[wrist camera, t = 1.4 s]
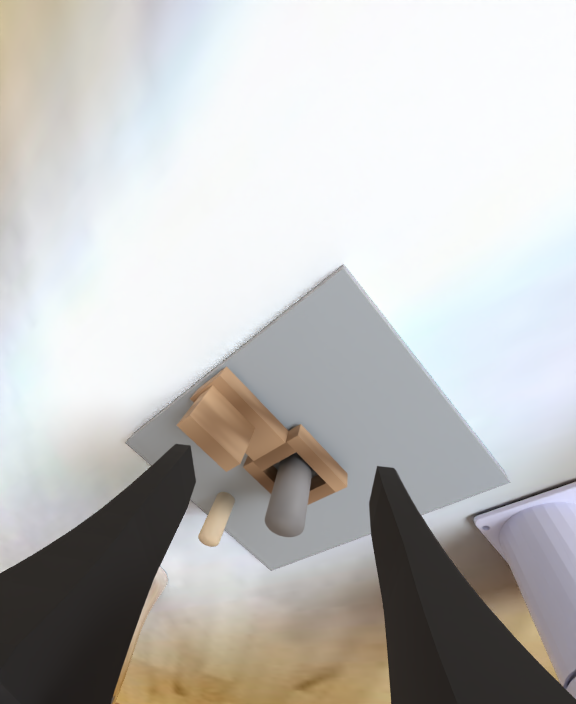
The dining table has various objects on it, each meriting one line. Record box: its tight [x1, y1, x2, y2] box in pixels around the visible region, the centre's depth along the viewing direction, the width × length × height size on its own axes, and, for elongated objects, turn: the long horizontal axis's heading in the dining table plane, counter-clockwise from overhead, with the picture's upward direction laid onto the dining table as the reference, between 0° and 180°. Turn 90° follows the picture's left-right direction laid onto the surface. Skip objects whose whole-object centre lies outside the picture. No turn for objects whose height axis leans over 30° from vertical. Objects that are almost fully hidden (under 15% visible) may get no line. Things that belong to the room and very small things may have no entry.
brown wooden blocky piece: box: [177, 366, 348, 505], centre depth 21 cm, size 11×5×4 cm, turn 41°
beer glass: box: [111, 566, 168, 704], centre depth 30 cm, size 7×7×15 cm
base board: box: [125, 265, 510, 571], centre depth 22 cm, size 18×22×6 cm
